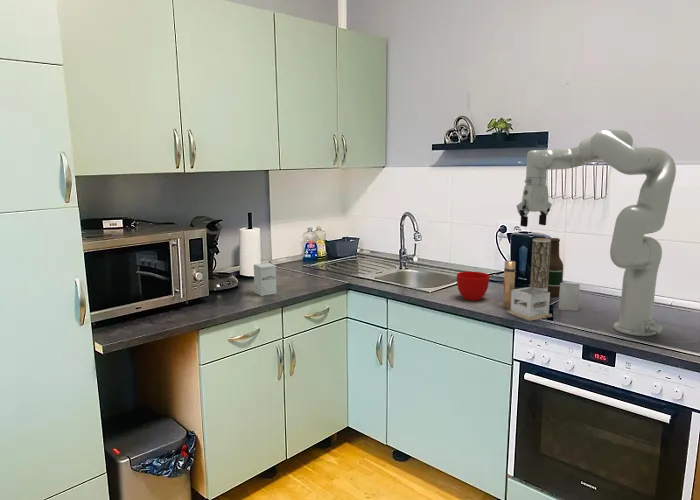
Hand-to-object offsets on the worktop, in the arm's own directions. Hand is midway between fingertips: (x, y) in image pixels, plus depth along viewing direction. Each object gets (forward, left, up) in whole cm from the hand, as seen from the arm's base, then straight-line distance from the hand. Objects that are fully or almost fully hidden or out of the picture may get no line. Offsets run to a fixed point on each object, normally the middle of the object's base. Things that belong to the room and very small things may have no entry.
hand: (533, 225), depth 206 cm
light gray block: (-16, -4, -31) cm, 35 cm away
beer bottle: (+2, -15, -31) cm, 34 cm away
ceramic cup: (+13, +17, -31) cm, 37 cm away
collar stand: (-15, +15, -30) cm, 37 cm away
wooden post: (-4, +15, -30) cm, 34 cm away
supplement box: (+60, +92, -31) cm, 114 cm away
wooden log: (-2, -3, -31) cm, 31 cm away
